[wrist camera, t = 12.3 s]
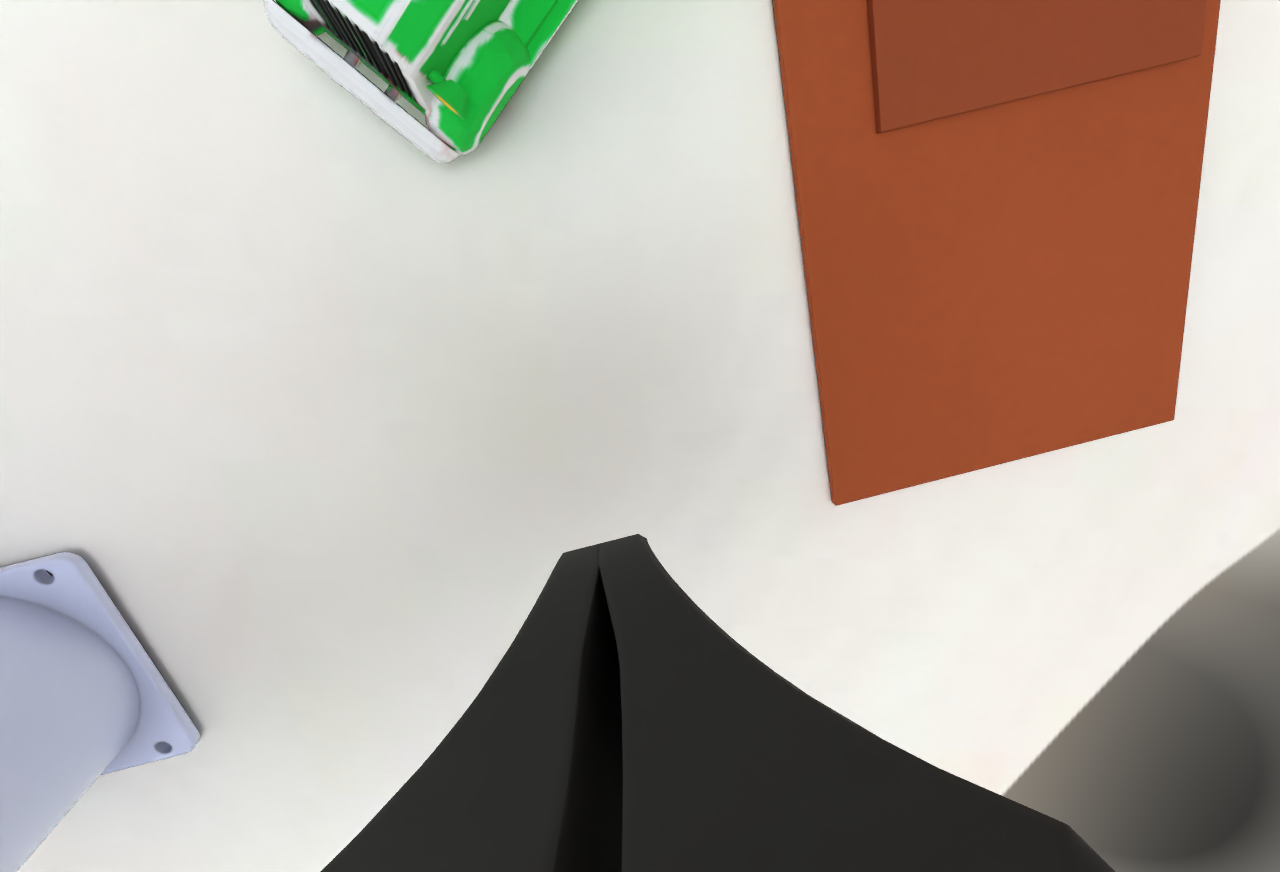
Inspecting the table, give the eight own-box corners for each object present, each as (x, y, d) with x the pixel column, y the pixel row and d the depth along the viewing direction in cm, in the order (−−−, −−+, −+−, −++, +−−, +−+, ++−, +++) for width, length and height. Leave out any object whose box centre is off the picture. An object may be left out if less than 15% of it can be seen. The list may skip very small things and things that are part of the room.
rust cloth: (831, 502, 20) (839, 510, 20) (752, -170, 14) (759, -186, 13) (1166, 417, 20) (1183, 422, 20) (1239, -280, 14) (1267, -302, 13)
